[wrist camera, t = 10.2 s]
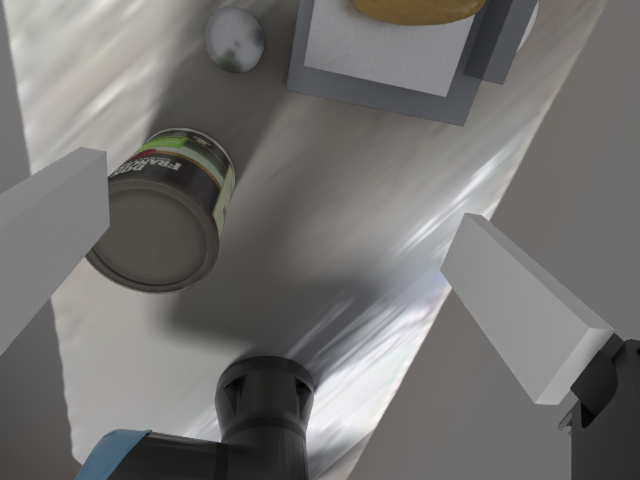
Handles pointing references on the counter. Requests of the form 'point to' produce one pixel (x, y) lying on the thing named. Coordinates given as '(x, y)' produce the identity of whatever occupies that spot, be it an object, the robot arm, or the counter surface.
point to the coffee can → (166, 213)
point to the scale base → (474, 65)
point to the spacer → (234, 39)
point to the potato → (419, 11)
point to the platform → (384, 48)
